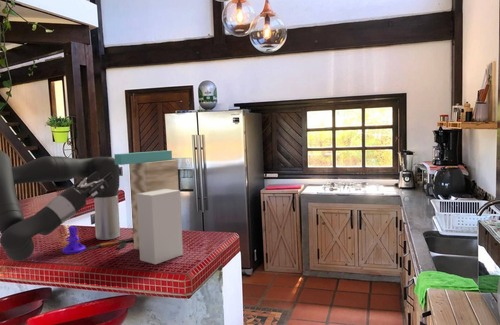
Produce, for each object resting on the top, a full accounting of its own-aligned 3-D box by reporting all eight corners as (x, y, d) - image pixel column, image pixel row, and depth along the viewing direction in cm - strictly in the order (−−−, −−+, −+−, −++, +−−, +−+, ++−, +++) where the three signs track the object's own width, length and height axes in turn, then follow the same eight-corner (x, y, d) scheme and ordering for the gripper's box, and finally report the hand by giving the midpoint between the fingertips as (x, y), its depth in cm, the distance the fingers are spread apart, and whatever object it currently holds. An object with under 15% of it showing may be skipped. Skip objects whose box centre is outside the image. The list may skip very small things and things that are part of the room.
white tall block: (140, 260, 134) (136, 193, 132) (167, 250, 143) (164, 188, 141) (155, 264, 129) (151, 195, 127) (183, 254, 138) (180, 190, 136)
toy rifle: (78, 255, 138) (72, 248, 146) (79, 259, 138) (72, 252, 146) (168, 237, 158) (158, 232, 166) (168, 240, 158) (158, 235, 166)
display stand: (134, 248, 147) (129, 162, 145) (163, 239, 158) (160, 159, 156) (151, 253, 141) (146, 163, 138) (180, 243, 152) (177, 160, 149)
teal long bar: (114, 164, 136) (114, 154, 136) (165, 159, 154) (164, 150, 153) (121, 164, 134) (121, 154, 134) (172, 159, 151) (171, 150, 151)
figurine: (59, 257, 143) (55, 230, 141) (68, 248, 151) (64, 223, 149) (80, 256, 143) (77, 229, 141) (89, 247, 151) (85, 222, 149)
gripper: (70, 197, 115) (112, 165, 125) (47, 194, 124) (88, 164, 134) (84, 217, 119) (123, 184, 129) (60, 212, 127) (99, 181, 138)
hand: (105, 174), depth 132 cm, fingers open, 8 cm apart
